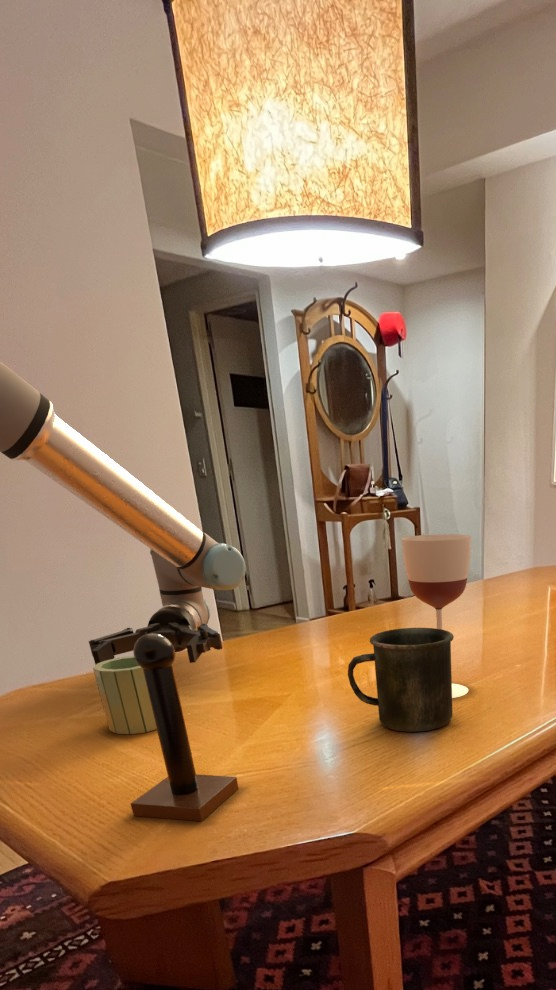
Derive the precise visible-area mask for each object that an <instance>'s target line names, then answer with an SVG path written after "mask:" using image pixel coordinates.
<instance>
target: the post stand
mask: <svg viewBox="0 0 556 990" xmlns="http://www.w3.org/2000/svg"><path fill="white" fill-rule="evenodd" d="M132 652H133V656H134V658H135V660H136V662H137V663H138V664H139V666H140V667H142V668H143V672H144V677H145V681H146V685H147V689H148V694H149V698H150V702H151V706H152V711H153V715H154V719H155V723H156V728H157V729H156V731H157V736H158V740H159V744H160V748H161V749H160V750H161V752H162V757H163V762H164V766H165V769H166V774H167V776H166V777H165V778H163V780H161V781H160V782H158V783H157V784H156V785H154V786H153V787H152V788H150V789H149V790H147V791H146V792H144V793H143V794H141V795H140V796H139V797H137V798H136V799H135V800H133V801H132V802H130V807H131V811H132V814H133V816H134V817H145V818H154V819H155V818H156V819H167V820H179V821H180V820H181V821H192V822H203V821H204V820H205V819H206V818H208V816H209V815H210V814H212V813H214V811H215V810H216V809H217V808H218V807H219V806H221V805H222V804H223V803H225V802H226V800H228V799H229V798H230V797H231V796H232V795H233V794H234V793H236V791H238V790H239V784H238V778H237V776H228V775H227V776H226V775H214V774H213V775H212V774H211V775H210V774H197V772H196V768H195V763H194V759H193V753H192V749H191V744H190V740H189V739H190V738H189V735H188V731H187V728H186V722H185V721H186V720H185V717H184V712H183V708H182V702H181V698H180V694H179V689H178V685H177V679H176V675H175V671H174V666H173V664H174V662H175V660H176V653H175V649H174V647H173V645H172V643H171V642H170V641H169V640H168V639H167V638H166V637H164V636H162V635H160V634H155V633H150V634H146V635H143V636H142V637H140V638H139V639H138V640H137V641H136V643H135V645H134V650H133V651H132Z"/></svg>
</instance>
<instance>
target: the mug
mask: <svg viewBox="0 0 556 990" xmlns="http://www.w3.org/2000/svg"><path fill="white" fill-rule="evenodd" d="M454 638H455V636H454V634H453V632H451V631H448V630H445V629H443V628H442V629H437V627H436V628H435V627H404V628H394V629H388V630H384V631H380V632H377V633H375V634H373V635H372V636H371V637H370V638H369V643H370V644H371V645H372V646H373V653H363V654H359V655H356V656H354V657H353V658H352V659H351V661H349V663H348V667H347V678H348V682H349V685H350V687H351V689H352V691H353V693H354V695H355V696H356V697H357V698H358V699H359V701H360V702H363V703H364V704H366V705H370V706H377V709H378V719H379V722H380V723H381V724H382V725H383V726H384V727H385V728H386V729H390V730H392V731H397V732H409V733H410V732H413V733H415V732H425V731H431V730H436V729H440V728H442V727H444V726H446V725H447V724H449V723H450V721H451V719H452V718H453V713H454V712H453V698H452V683H453V680H452V678H453V677H452V646H451V645H452V644H451V643H452V641H453V640H454ZM365 662H374V668H375V670H374V671H375V683H376V694H377V695H376V696H377V697H372V696H369V695H366V693H364V692H363V691H362V690H361V688H360V687H359V686H358V684H357V682H356V680H355V676H354V670H355V668H356V667H357V665H359V664H362V663H365Z"/></svg>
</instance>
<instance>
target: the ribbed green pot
mask: <svg viewBox="0 0 556 990" xmlns="http://www.w3.org/2000/svg"><path fill="white" fill-rule="evenodd" d="M92 670H93V673H94V677H95V681H96V685H97V688H98V692H99V696H100V699H101V703H102V707H103V711H104V714H105V718H106V723H107V725H108V729H109V731H110V732H112V733H113V734H117V735H137V734H145V733H149V732H152V731H155V730H156V731H157V728H156V723H155V719H154V715H153V711H152V706H151V702H150V698H149V694H148V689H147V685H146V681H145V677H144V672H143V668H142V667H140V666H139V664H138V663H137V662H136V660H135V658H134V655H130V656H129V655H128V656H121V657H115V658H114V659H110V660H106V661H103V662H100V663H98V664H96V665H95V664H94V665H93V668H92Z"/></svg>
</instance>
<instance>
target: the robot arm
mask: <svg viewBox="0 0 556 990" xmlns="http://www.w3.org/2000/svg"><path fill="white" fill-rule="evenodd" d="M0 453H1V454H3V455H4V456H6V457H7V458H8V459H10V460H11V461H26V462H27V463H28V464H30V465H31V466H33V468H35V469H36V470H38V471H39V472H41V473H43V474H44V475H45V476H47V477H48V478H49V479H51V480H52V481H54V482H55V483H57V484H58V485H59V486H60V487H62V488H63V489H65V490H66V491H68V492H69V493H71V494H72V495H73V496H75V497H76V498H78V499H79V500H81V501H82V502H84V503H85V504H86V505H88V506H89V507H90V508H92V509H94V510H95V511H96V512H98V513H99V514H101V515H102V516H103V517H104V518H106V519H107V520H109V521H111V522H112V523H113V524H115V525H116V526H118V527H119V528H120V529H122V530H123V531H125V532H126V533H128V534H129V535H130V536H132V537H133V538H134V539H136V540H138V541H139V542H140V543H142V544H143V545H144V546H146V547H147V548H149V554H150V556H151V559H152V560H151V561H152V564H153V568H154V572H155V577H156V581H157V585H158V590H159V591H158V592H159V597H160V600H161V604H162V607H160V608H159V609H158V610H157V611H156V612H155V613H153V614H152V615H151V617H150V618H149V620H148V622H147V626H145V627H141V628H137V629H136V630H135V632H134V629H133V627H126V628H124V629H122V630H120V631H117V632H113V633H110V634H108V635H104V636H100V637H98V638H95V639H90V640H88V645H89V649H90V653H91V656H92V657H93V661H94V666H95V665H96V664H98V663H100V662H103V661H106V660H110V659H115V658H116V657H115V656H117V655H122V654H125V653H130V652H133V650H134V645H135V643H136V641H137V640H138V639H139V638H140V637H142V636H143V635H146V634H150V633H155V634H160V635H162V636H164V637H166V638H167V639H168V640H169V641H170V642H171V643H172V645H173V647H174V649H175V654H176V653H180V652H183V651H185V650H186V651H187V656H188V661H189V664H194V663H196V662H197V661H198V659H199V658H200V656H202V654H205V653H207V652H209V651H211V650H212V648H213V649H214V650H217V651H218V650H219V651H220V650H222V649H223V643H222V638H221V633H220V632H218V631H217V630H215V629H213V628H211V627H210V626H209V624H208V623H209V621H210V618H211V609H210V605H209V604H208V602H207V600H206V599H205V598H204V594H203V590H202V588H206V589H211V590H214V591H231V590H235V589H237V588H238V587H239V586H240V585H241V584H242V583H243V581H244V578H245V576H246V571H247V566H246V562H245V561H246V560H245V558H244V557H243V555H242V553H241V552H240V551H239V549H237V548H236V547H235V546H232V545H230V544H227V543H224V542H218V541H216V540H215V539H213V538H212V537H211V536H210V535H209V534H207V533H206V532H204V531H203V530H202V529H200V528H199V527H197V526H196V525H195V524H194V523H193V522H191V521H190V520H189V519H187V517H185V516H183V515H182V513H180V512H178V511H177V510H176V509H175V508H173V507H172V506H171V505H170V504H169V503H167V502H166V501H165V500H164V499H162V498H161V497H160V496H158V495H157V494H156V493H154V491H152V490H151V489H150V488H148V487H147V486H146V485H144V483H142V482H141V481H139V480H138V479H137V478H136V477H134V476H133V475H132V474H131V473H129V472H128V471H127V470H126V469H125V468H123V467H122V466H120V464H118V463H117V462H116V461H114V460H113V459H112V458H110V457H109V456H108V455H107V454H106V453H104V452H103V451H102V450H101V449H99V448H98V447H97V446H96V445H94V444H93V443H92V442H91V441H89V440H88V439H86V438H85V436H83V435H81V434H80V433H79V432H78V431H76V430H75V429H74V428H73V427H71V426H70V425H69V424H68V423H67V422H65V421H64V420H63V419H61V418H60V417H59V416H58V415H56V413H55V410H54V405H53V403H52V401H51V400H49V399H48V398H47V397H46V396H45V395H43V394H42V393H41V392H40V391H39V390H37V388H34V386H32V385H31V384H29V383H28V382H27V381H26V380H25V379H24V378H22V377H21V376H20V375H18V374H17V373H16V372H15V371H14V370H13V369H11V368H9V367H8V366H7V365H6V364H4V363H3V362H2V361H0Z"/></svg>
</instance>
